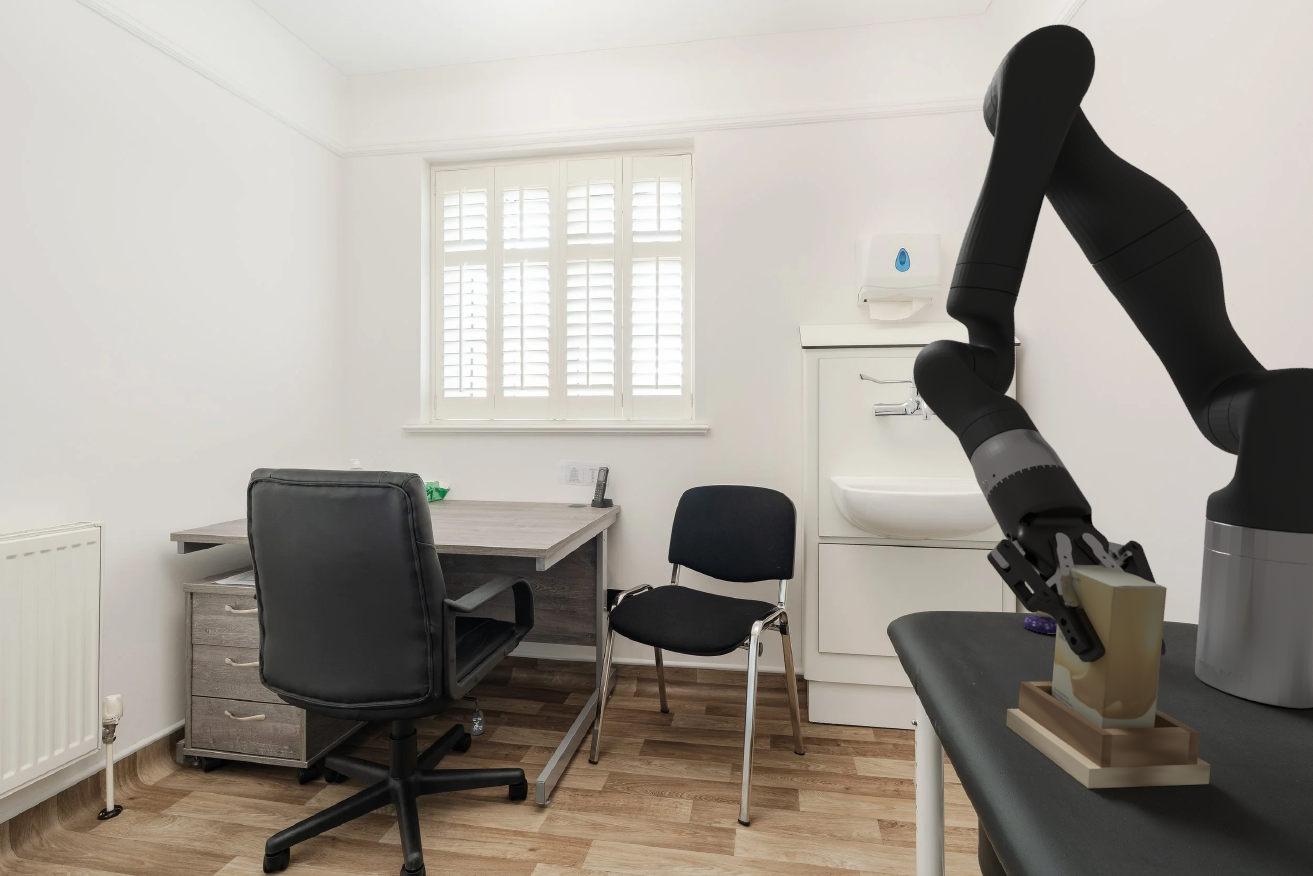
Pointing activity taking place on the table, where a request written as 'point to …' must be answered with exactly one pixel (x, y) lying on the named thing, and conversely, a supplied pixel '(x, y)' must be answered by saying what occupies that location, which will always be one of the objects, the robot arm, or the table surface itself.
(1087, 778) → the wooden tray
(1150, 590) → the skincare box
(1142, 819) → the table surface
